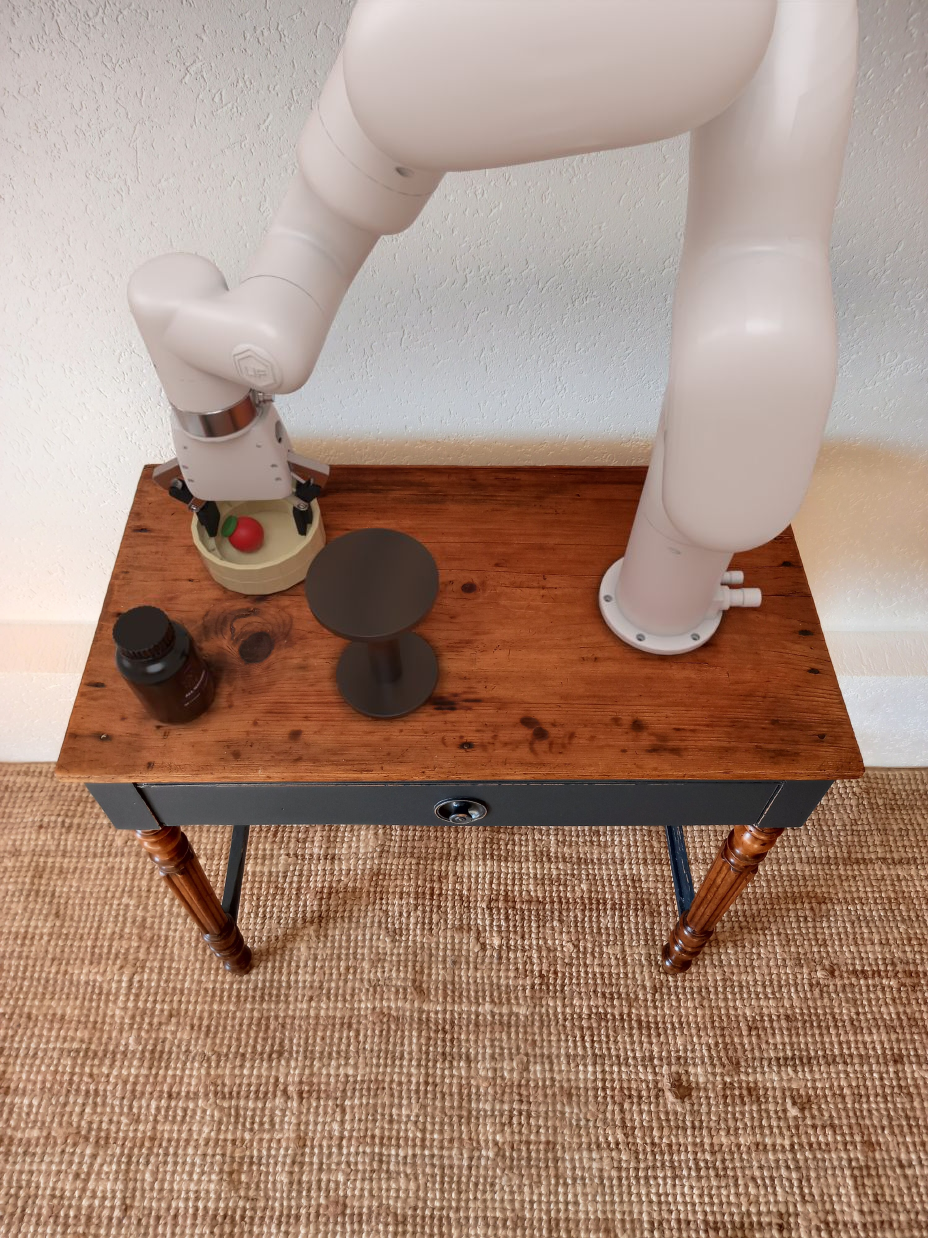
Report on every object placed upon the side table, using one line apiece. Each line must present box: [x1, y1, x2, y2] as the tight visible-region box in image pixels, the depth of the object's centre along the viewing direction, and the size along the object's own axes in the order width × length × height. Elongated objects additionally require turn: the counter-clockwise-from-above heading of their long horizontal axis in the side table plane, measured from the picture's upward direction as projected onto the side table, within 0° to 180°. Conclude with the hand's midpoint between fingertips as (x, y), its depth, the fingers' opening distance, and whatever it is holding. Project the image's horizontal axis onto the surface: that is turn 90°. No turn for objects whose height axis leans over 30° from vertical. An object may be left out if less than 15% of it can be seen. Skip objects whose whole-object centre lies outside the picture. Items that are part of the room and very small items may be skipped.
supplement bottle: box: [111, 605, 216, 725], centre depth 73 cm, size 7×7×12 cm
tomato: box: [221, 515, 264, 552], centre depth 86 cm, size 4×4×4 cm
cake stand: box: [304, 527, 440, 721], centre depth 72 cm, size 11×11×16 cm
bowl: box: [190, 487, 327, 595], centre depth 86 cm, size 13×13×5 cm
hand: (259, 525), depth 85 cm, fingers open, 9 cm apart
